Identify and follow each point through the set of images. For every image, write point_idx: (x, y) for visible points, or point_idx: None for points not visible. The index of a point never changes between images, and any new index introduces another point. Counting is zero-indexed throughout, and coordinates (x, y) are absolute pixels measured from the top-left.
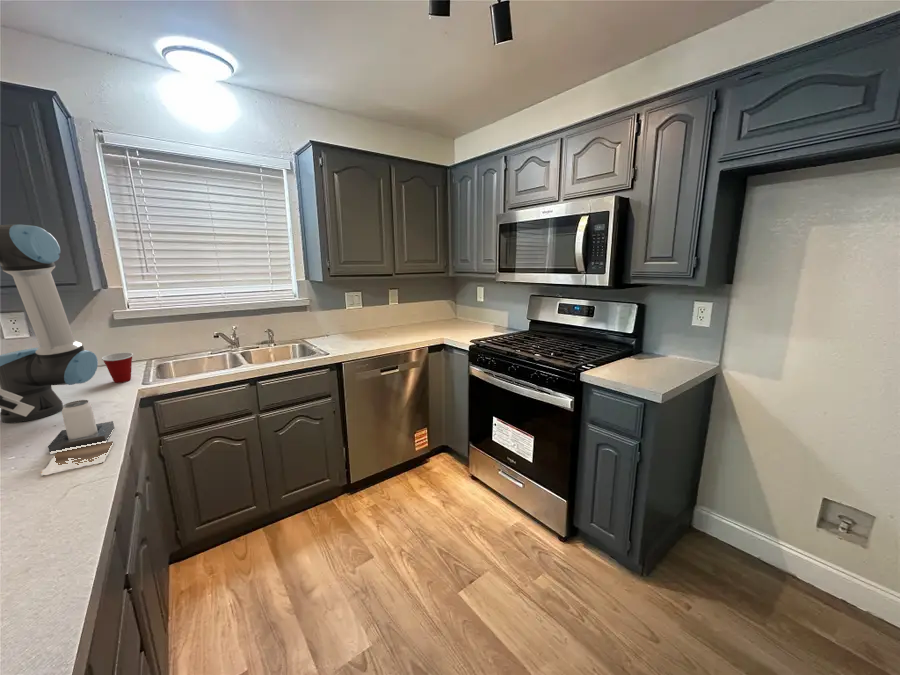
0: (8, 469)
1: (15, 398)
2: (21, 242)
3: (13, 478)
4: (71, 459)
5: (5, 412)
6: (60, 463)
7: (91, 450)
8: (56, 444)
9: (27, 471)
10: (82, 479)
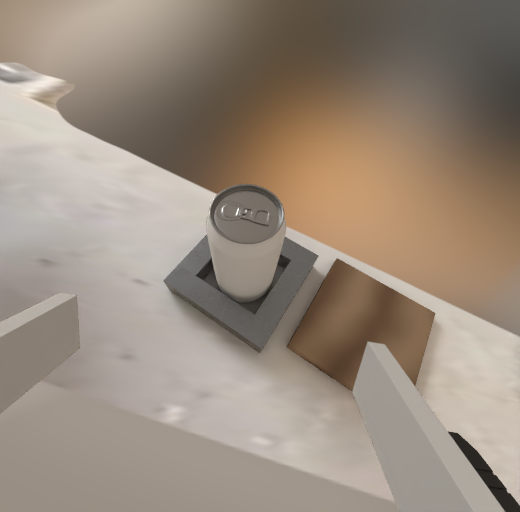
0: (261, 453)
1: (57, 327)
2: None
3: (347, 470)
4: None
5: None
6: None
7: (354, 301)
8: (268, 331)
9: (328, 429)
10: (494, 378)
